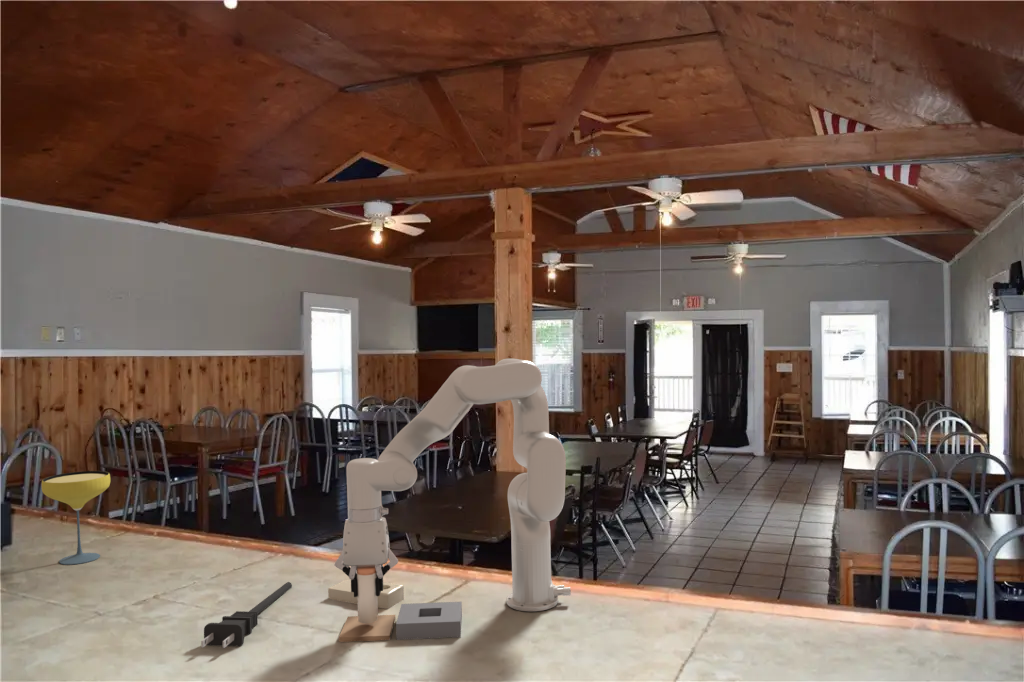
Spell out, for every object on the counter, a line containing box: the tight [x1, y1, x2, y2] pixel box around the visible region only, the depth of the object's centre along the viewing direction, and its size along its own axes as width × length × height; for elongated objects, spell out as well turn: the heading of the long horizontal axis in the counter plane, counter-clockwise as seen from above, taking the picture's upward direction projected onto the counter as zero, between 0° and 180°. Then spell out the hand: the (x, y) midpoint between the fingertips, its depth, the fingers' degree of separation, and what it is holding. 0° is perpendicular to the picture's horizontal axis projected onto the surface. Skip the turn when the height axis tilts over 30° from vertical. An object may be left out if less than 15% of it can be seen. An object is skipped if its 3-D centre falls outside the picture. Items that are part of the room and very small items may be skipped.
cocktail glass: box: [41, 470, 111, 566], centre depth 236 cm, size 18×18×25 cm
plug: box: [356, 565, 379, 623], centre depth 178 cm, size 4×4×12 cm
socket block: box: [395, 601, 463, 641], centre depth 178 cm, size 14×12×4 cm
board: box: [338, 614, 396, 643], centre depth 178 cm, size 11×12×1 cm
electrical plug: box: [200, 581, 293, 649], centre depth 187 cm, size 9×42×5 cm, turn 174°
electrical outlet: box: [327, 578, 405, 610], centre depth 198 cm, size 7×4×18 cm
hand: (367, 593), depth 178 cm, fingers closed on plug, 4 cm apart
